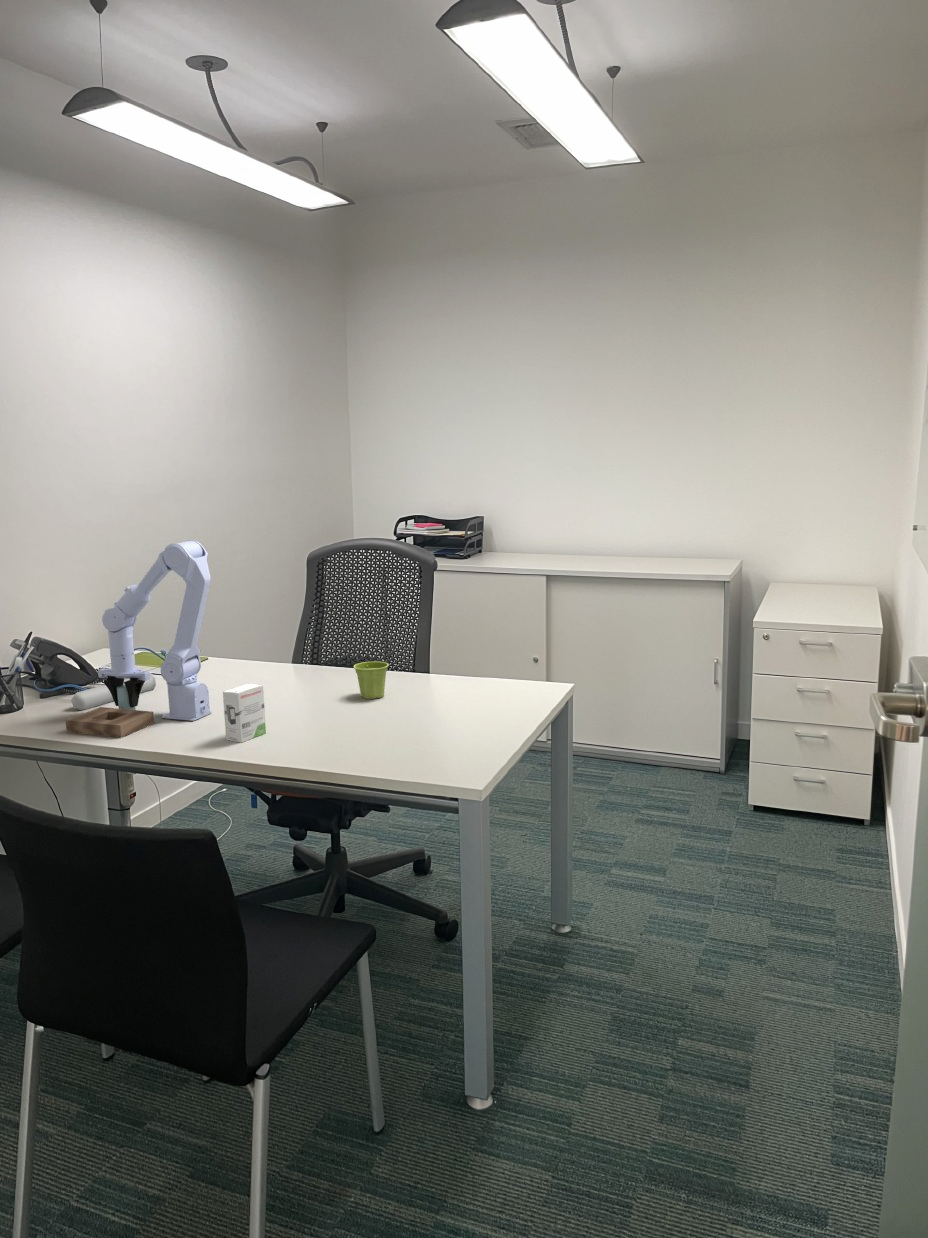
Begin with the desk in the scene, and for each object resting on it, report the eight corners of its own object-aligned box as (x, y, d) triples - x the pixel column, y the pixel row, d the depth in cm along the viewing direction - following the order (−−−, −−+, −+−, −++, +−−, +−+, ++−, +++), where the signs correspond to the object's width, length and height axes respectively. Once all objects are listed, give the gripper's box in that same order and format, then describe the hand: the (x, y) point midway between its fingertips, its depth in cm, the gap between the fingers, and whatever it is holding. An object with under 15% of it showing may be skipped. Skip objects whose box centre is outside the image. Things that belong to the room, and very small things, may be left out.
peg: (139, 711, 237) (136, 685, 236) (128, 715, 234) (126, 689, 232) (126, 710, 239) (123, 684, 237) (115, 714, 235) (113, 688, 234)
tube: (82, 698, 237) (157, 676, 258) (68, 690, 239) (144, 669, 260) (79, 716, 239) (154, 693, 260) (66, 708, 241) (141, 685, 262)
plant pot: (349, 700, 244) (348, 668, 243) (361, 691, 253) (360, 660, 252) (383, 702, 242) (382, 669, 241) (394, 692, 251) (393, 661, 250)
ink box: (251, 730, 219) (248, 682, 217) (267, 733, 217) (264, 684, 214) (225, 740, 212) (221, 690, 210) (240, 743, 209) (237, 693, 207)
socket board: (154, 723, 226) (153, 711, 226) (121, 737, 215) (120, 725, 215) (101, 718, 232) (100, 707, 231) (66, 732, 220) (65, 720, 220)
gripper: (156, 652, 235) (160, 703, 237) (109, 649, 239) (114, 699, 242) (137, 658, 228) (142, 711, 231) (90, 654, 233) (95, 706, 235)
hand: (126, 705), depth 236 cm, fingers closed on peg, 4 cm apart
